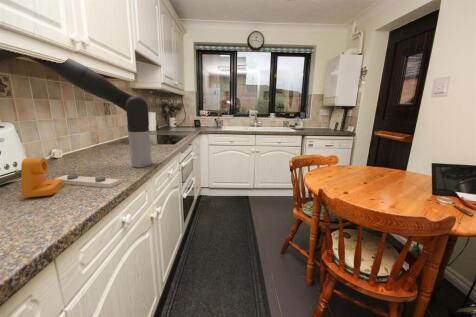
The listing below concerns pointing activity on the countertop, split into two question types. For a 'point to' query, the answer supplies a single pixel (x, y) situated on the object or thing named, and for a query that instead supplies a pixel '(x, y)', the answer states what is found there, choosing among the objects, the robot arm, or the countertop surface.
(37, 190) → the bracket
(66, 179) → the board
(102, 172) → the countertop surface
